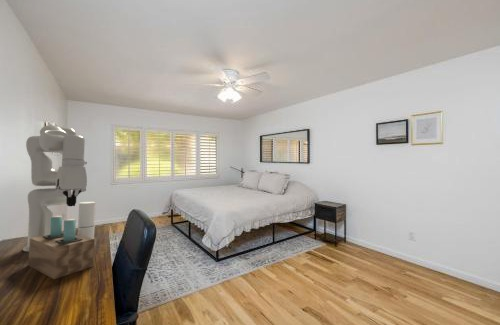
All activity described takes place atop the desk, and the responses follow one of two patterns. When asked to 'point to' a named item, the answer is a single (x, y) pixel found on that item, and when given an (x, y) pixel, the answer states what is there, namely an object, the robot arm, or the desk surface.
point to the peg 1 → (56, 226)
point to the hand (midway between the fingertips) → (71, 205)
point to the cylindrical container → (86, 219)
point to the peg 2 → (69, 230)
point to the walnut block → (60, 255)
